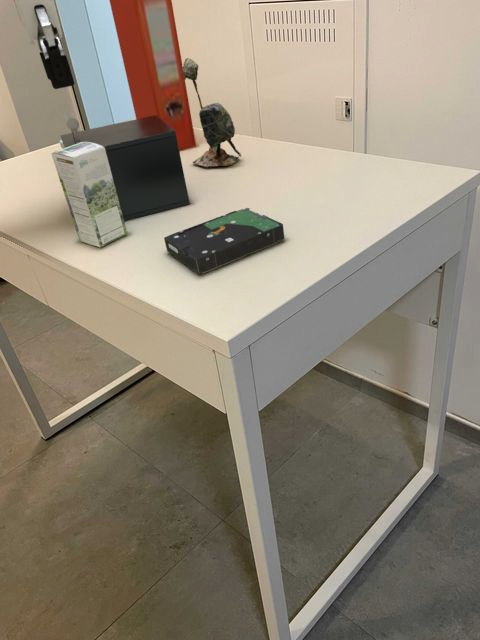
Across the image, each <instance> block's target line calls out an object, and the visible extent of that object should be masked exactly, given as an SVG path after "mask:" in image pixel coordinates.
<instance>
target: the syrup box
mask: <svg viewBox="0 0 480 640" xmlns="http://www.w3.org/2000/svg"><path fill="white" fill-rule="evenodd" d="M51 158H52V160H53V164H54V167H55V169H56V172H57V176H58V179H59V182H60V185H61V188H62V191H63V194H64V197H65V200H66V203H67V206H68V209H69V212H70V215H71V218H72V222H73V225H74V227H75V231H76V234H77V237H78V240H79V241H80V242H82V243H85V244H87V245H91V246H94V247H98V248H103V247H104V246H107V245H108V244H111V243H113V242H115V241H116V240H118V239H120V238H122V237H124V236H126V235H128V230H127V227H126V224H125V221H124V219H123V215H122V211H121V208H120V204H119V200H118V196H117V193H116V189H115V185H114V181H113V177H112V174H111V170H110V166H109V162H108V158H107V155H106V151H105V148H104V147H103V146H101V145H98V144H95V143H91V142H80V143H78V144H75V145H72V146H69V147H67V148H64V149H62V148H61V149H58V150H56V151H53V152H51Z"/></svg>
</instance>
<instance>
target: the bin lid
mask: <svg viewBox="0 0 480 640" xmlns="http://www.w3.org/2000/svg"><path fill="white" fill-rule="evenodd" d="M63 121H64V122H65V124H66V126H67V128H68V129H70V132H69V133H65V134H61V135H60V140H62V142H63V144H64V146H65V148H67V147H69V146H72V145H75V144H78V143H80V142H91V143H95V144H98V145H101V146H103V147H104V148H105V151H109V150H113V149H118V148H122V147H126V146H131V145H135V144H140V143H144V142H149V141H153V140H158V139H162V138H167V137H171V136H176V132H175V130H174V129H173V128H171V127H170V126H169V125H168V124H166V123H165V122H164V121H163V120H162V119H160V118H159V117H158V116H157V115H154V116H149V117H145V118H140V119H136V118H135V119H131V120H126V121H123V122H121V121H120V122H116V123H113V124H107V125H103V126H99V127H94V128H89V129H84V130H80V131H78V129H79V127H80V121H78V119H77V117H76V116H75V114H74V113H73V112H72V111H70V110H69V111H65V112H64V113H63Z"/></svg>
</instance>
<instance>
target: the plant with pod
mask: <svg viewBox="0 0 480 640" xmlns="http://www.w3.org/2000/svg"><path fill="white" fill-rule="evenodd" d="M198 71H199V64H198V63H196V62H195V60H193V59H191V58H190V57H187V58H185V59H184V62H183V68H182V73H183V74H184V79H183V81H185V82H186V79H187V80H191V81H192V83H193V86H194V89H195V92H196V94H197V98H198V101H199V106H200V110H199V113H198V115H199V122H200V124H201V128H202V132H203V137H204V138H205V140H206V144H208V146H209V147H208V150H206V151H205V152H204V153H203V154H202V155H201V156H200V157H198V158H197V159H195V160H194V161H192V164H194V165H197V166H201V167H204V168H208V167H220V166H221V167H230V166H233V165H234V164H235V163H237V162H238V161H239V159H240V157H242V152H240V151H239V150H238V149H237V147H236V146H235V144H234V143H233V141H232V138H234V137H235V133H236V128H235V125H234V121H233V120H232V116H231V114H230V113H229V112H228V110H227V109H226V108H225V107H224V105H223V104H222V103H219V102H213V103H210V104H207V105H205V106H203V105H202V104H203V103H202V100H201V96H200V93H199V91H198V84H197V80H198V74H199V73H198ZM225 142H227V143H228V144H229V145H230V147H231V148H232V150H233V151H234V152H235V153H236V154H237V155H238V156H236V155H233V154H230V153H227V151H226V150H225V149H224V148H222V147H221V144H222V143H225Z"/></svg>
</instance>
